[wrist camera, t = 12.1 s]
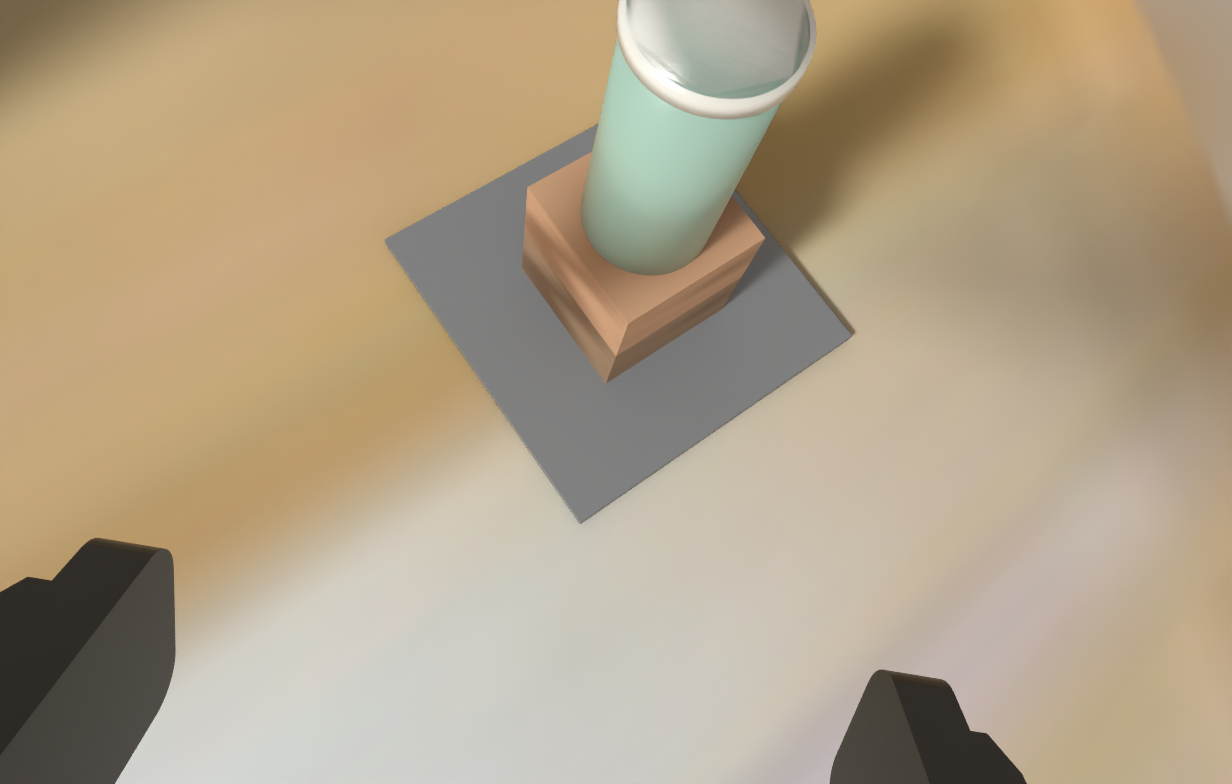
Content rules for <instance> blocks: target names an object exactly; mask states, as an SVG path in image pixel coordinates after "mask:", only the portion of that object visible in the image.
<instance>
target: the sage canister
mask: <svg viewBox="0 0 1232 784" xmlns="http://www.w3.org/2000/svg"><path fill="white" fill-rule="evenodd" d="M616 32H617V42H616V47H615V51H614V56H613V60H612V65H611V69H610V74H609V78H608V83H607V87H606V92H605V96H604V101H603V105H602V110H601V114H600V119H599V123H598V128H597V132H596V137H595V141H594V146H593V150H592V155H591V159H590V164H589V168H588V173H587V177H586V182H585V186H584V191H583V195H582V200H581V221H582V225H583V229H584V231H585V234H586V236H587V238H588V240H589V241H590V243H591V245H592V246H593V247H594V248H595V250H596V251H597V252H598V253H599V254H600V255H601V256H602V257H603V258H604V259H606V260H607V261H608V262H610V263H611V264H613V265H615V266H616V267H618V268H620V269H623V270H625V271H628V272H631V273H634V274H640V275H651V276H653V275H663V274H668V273H671V272H674V271H677V270H679V269H681V268H683V267H685V266H686V265H688V264H689V263H691V262H692V261H693V260H694V259H695V258H696V257H697V256H698V255H699V254H700V252H701V251H702V249H703V248H704V246H705V244H706V243H707V241H708V239H709V237H710V235H711V233H712V231H713V230H714V228H715V226H716V224H717V222H718V220H719V218H720V216H721V215H722V213H723V211H724V209H725V207H726V205H727V203H728V201H729V200H730V198H731V196H732V194H733V192H734V190H735V188H736V187H737V185H738V183H739V181H740V179H741V177H742V175H743V173H744V172H745V170H746V168H747V166H748V164H749V162H750V160H751V158H752V157H753V155H754V153H755V151H756V149H757V147H758V145H759V144H760V142H761V140H762V138H763V136H764V134H765V132H766V130H767V129H768V127H769V125H770V123H771V121H772V119H773V117H774V115H775V114H776V112H777V110H778V108H779V106H780V104H781V102H782V101H783V100H784V99H786V98H787V97H788V96H789V95H790V94H791V92H792V91H793V90H794V89H795V88H796V86H797V84H798V83H799V81H800V79H801V78H802V76H803V74H804V72H805V70H806V69H807V67H808V65H809V63H810V61H811V58H812V56H813V53H814V49H815V44H816V22H815V17H814V13H813V9H812V7H811V4H810V2H809V0H619V5H618V10H617V17H616Z"/></svg>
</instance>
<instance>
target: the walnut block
mask: <svg viewBox="0 0 1232 784" xmlns="http://www.w3.org/2000/svg"><path fill="white" fill-rule="evenodd" d="M522 269H523V270H524V272H525V273H526V274H527V276H528V277H529V278H530V280H531V281H532V283H533V284H534V285H535V287H536V288H537V289H538V291H539V292H540V294H541V295H542V296H543V298H544V299H545V301H546V302H547V303H548V305H549V306H550V307H551V309H552V310H553V312H554V313H555V314H556V316H557V317H558V318H559V320H560V321H561V323H562V324H563V325H564V327H565V328H566V330H567V331H568V332H569V334H570V335H571V336H572V338H573V339H574V341H575V342H576V343H577V345H578V346H579V347H580V349H581V350H582V352H583V353H584V354H585V356H586V357H587V359H588V360H589V361H590V363H591V364H592V365H593V367H594V368H595V370H596V371H597V372H598V374H599V375H600V376H601V378H602V379H603V381H604V382H605V383H608V382H609V381H611V380H612V379H614V378H615V377H617V376H619V375H620V374H622V373H623V372H625V371H626V370H628V369H629V368H631V367H633V366H634V365H636V364H637V363H639V362H640V361H642V360H643V359H645V358H647V357H648V356H650V355H651V354H653V353H654V352H656V351H657V350H659V349H661V348H662V347H664V346H665V345H667V344H668V343H670V342H671V341H673V340H675V339H676V338H678V337H679V336H681V335H682V334H684V333H685V332H687V331H689V330H690V329H692V328H693V327H695V326H696V325H698V324H699V323H701V322H703V321H704V320H706V319H707V318H709V317H710V316H712V315H713V314H715V313H717V312H718V311H720V310H721V309H722V308H723V306H724V305H725V303H726V302H727V300H728V298H729V297H730V295H731V293H732V292H733V290H734V288H735V287H736V285H737V284H738V282H739V280H740V279H741V277H740V278H739V279H737V280H736V281H734V282H732V283H731V284H729V285H728V286H726V287H725V288H723V289H721V290H720V291H718V292H717V293H715V294H714V295H712V296H710V297H709V298H707V299H706V300H704V301H703V302H701V303H699V304H698V305H696V306H695V307H693V308H691V309H690V310H688V311H687V312H685V313H684V314H682V315H680V316H679V317H677V318H676V319H674V320H673V321H671V322H669V323H668V324H666V325H665V326H663V327H662V328H660V329H658V330H657V331H655V332H654V333H652V334H651V335H649V336H647V337H646V338H644V339H643V340H641V341H639V342H638V343H636V344H635V345H633V346H632V347H630V348H628V349H627V350H625V351H624V352H622V353H621V354H619V355H617V356H615V354H614V353H613V352H612V350H611V349H610V348H609V346H608V345H607V343H606V342H605V341H604V339H603V338H602V337H601V335H600V334H599V332H598V331H597V330H596V328H595V327H594V326H593V324H592V323H591V322H590V320H589V319H588V317H587V316H586V315H585V313H584V312H583V311H582V309H581V308H580V306H579V305H578V304H577V302H576V301H575V300H574V298H573V297H572V296H571V294H570V293H569V291H568V290H567V289H566V287H565V286H564V285H563V283H562V282H561V281H560V279H559V278H558V276H557V275H556V274H555V272H554V271H553V270H552V268H551V267H550V265H549V264H548V263H547V261H546V260H545V259H544V257H543V256H542V255H541V253H540V252H539V250H538V249H537V248H536V246H535V245H534V244H533V242H532V241H531V240H530V238H529V237H528V235H527V234H526V233H525V231H524V243H523V257H522Z"/></svg>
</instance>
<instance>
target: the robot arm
mask: <svg viewBox="0 0 1232 784" xmlns="http://www.w3.org/2000/svg"><path fill="white" fill-rule="evenodd" d="M174 663H175V608H174V566H173V558H172V555H171V553H170V552H169V551H168V550H167V549H163V548H157V547H151V546H145V545H139V544H133V543H126V542H120V541H114V540H108V539H102V538H94V539H91V540H90V541H88V542H87V543H86V544H84V545H83V546H82V547H81V549H80V550H79V551H78V552H77V553H76V554H75V555H74V556H73V558H72V559H71V560H70V561H69V562H68V563H67V564H66V565H65V566H64V568H63V569H62V570H61V571H60V572H59V573H58V574H57V575H56V577H55V578H54V579H53V580H52V581H50V580H44V579H38V578H32V577H26V578H25V579H23V580H21V581H19V582H18V583H16V584H14V585H12V586H10V587H9V588H7V589H5V590H3V591H2V592H0V784H115V782H116V781H117V779H118V777H119V776H120V774H121V772H122V771H123V769H124V767H125V766H126V764H127V763H128V761H129V759H130V758H131V756H132V754H133V753H134V751H135V749H136V748H137V746H138V744H139V743H140V741H141V739H142V738H143V736H144V734H145V733H146V731H147V729H148V728H149V726H150V724H151V723H152V721H153V719H154V718H155V716H156V715H157V713H158V711H159V709H160V707H161V705H162V703H163V701H164V698H165V696H166V693H167V690H168V688H169V685H170V681H171V678H172V673H173V669H174ZM830 784H1027V783H1026V781H1025V779H1024V777H1023V775H1022V773H1021V772H1020V771H1019V770H1018V769H1017V768H1016V766H1015V765H1014V764H1013V763H1012V762H1011V761H1010V760H1009V758H1008V757H1007V756H1006V755H1005V754H1004V753H1003V751H1002V750H1001V749H1000V748H999V747H998V746H997V744H996V743H995V742H994V741H993V740H992V739H991V738H990V736H989V735H988V734H986V733H980V732H974V731H970V729H969V727H968V724H967V722H966V720H965V717H964V715H963V713H962V710H961V708H960V706H959V703H958V701H957V699H956V696H955V694H954V692H953V690H952V688H951V687H950V685H949V684H948V683H947V682H946V681H944V680H942V679H936V678H930V677H924V676H918V675H912V674H906V673H900V672H894V671H888V670H878V671H876V672H875V673H874V674H873V675H872V677H871V678H870V680H869V682H868V684H867V686H866V689H865V691H864V693H863V696H862V698H861V700H860V702H859V705H858V707H857V709H856V711H855V714H854V716H853V718H852V721H851V723H850V725H849V727H848V730H847V732H846V734H845V736H844V739H843V741H842V743H841V746H840V748H839V750H838V752H837V755H836V757H835V760H834V763H833V766H832V771H831V777H830Z"/></svg>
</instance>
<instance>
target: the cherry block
mask: <svg viewBox="0 0 1232 784" xmlns="http://www.w3.org/2000/svg"><path fill="white" fill-rule="evenodd" d="M591 155H592V152H590V153H589V154H587V155H585V156H583V157H581V158H580V159H578V160H576V161H574V162H572V163H570V164H569V165H567V166H565V167H563V168H561V169H560V170H558V171H556V172H554V173H552V174H550V175H549V176H547V177H545V178H543V179H541V180H540V181H538V182H536V183H534V184H532V185H531V186H529V187H527V200H526V214H525V229H524V231H525V233H526V234H527V235H528V237H529V238H530V240H531V241H532V242H533V244H534V245H535V246H536V248H537V249H538V250H539V252H540V253H541V255H542V256H543V257H544V259H545V260H546V261H547V263H548V264H549V265H550V267H551V268H552V270H553V271H554V272H555V274H556V275H557V276H558V278H559V279H560V281H561V282H562V283H563V285H564V286H565V287H566V289H567V290H568V291H569V293H570V294H571V296H572V297H573V298H574V300H575V301H576V302H577V304H578V305H579V306H580V308H581V309H582V311H583V312H584V313H585V315H586V316H587V317H588V319H589V320H590V322H591V323H592V324H593V326H594V327H595V328H596V330H597V331H598V332H599V334H600V335H601V337H602V338H603V339H604V341H605V342H606V343H607V345H608V346H609V348H610V349H611V350H612V352H613V353H614V354H615V356H617V355H619V354H621V353H622V352H624V351H625V350H627V349H628V348H630V347H632V346H633V345H635V344H636V343H638V342H639V341H641V340H643V339H644V338H646V337H647V336H649V335H651V334H652V333H654V332H655V331H657V330H658V329H660V328H662V327H663V326H665V325H666V324H668V323H669V322H671V321H673V320H674V319H676V318H677V317H679V316H680V315H682V314H684V313H685V312H687V311H688V310H690V309H691V308H693V307H695V306H696V305H698V304H699V303H701V302H703V301H704V300H706V299H707V298H709V297H710V296H712V295H714V294H715V293H717V292H718V291H720V290H721V289H723V288H725V287H726V286H728V285H729V284H731V283H732V282H734V281H736V280H737V279H739V278H740V277H742V275H743V274H744V272H745V270H746V269H747V267H748V266H749V264H750V262H751V261H752V259H753V257H754V256H755V254H756V252H757V251H758V249H759V248H760V246H761V244H762V243H763V241H764V239H765V237H764V236H763V234H762V233H761V232H760V231H759V229H758V228H757V227H756V225H755V224H754V223H753V222H752V220H751V219H750V218H749V217H748V215H747V214H746V213H745V212H744V210H743V209H742V208H741V207H740V205H739V204H738V203H737V201H736V200H735V199H734V198H733V196H731V198H730V200H729V201H728V203H727V205H726V207H725V209H724V211H723V213H722V215H721V216H720V218H719V220H718V222H717V224H716V226H715V228H714V230H713V231H712V233H711V235H710V237H709V239H708V241H707V243H706V244H705V246H704V248H703V249H702V251H701V252H700V254H699V255H698V256H697V257H696V258H695V259H694V260H693V261H692V262H691V263H689V264H688V265H686V266H685V267H683V268H681V269H679V270H677V271H674V272H671V273H668V274H663V275H653V276H651V275H640V274H634V273H631V272H628V271H625V270H623V269H620V268H618V267H616V266H615V265H613V264H611V263H610V262H608V261H607V260H606V259H604V258H603V257H602V256H601V255H600V254H599V253H598V252H597V251H596V250H595V248H594V247H593V246H592V245H591V243H590V241H589V240H588V238H587V236H586V234H585V231H584V229H583V225H582V221H581V200H582V195H583V191H584V186H585V182H586V177H587V173H588V168H589V164H590V159H591Z"/></svg>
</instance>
